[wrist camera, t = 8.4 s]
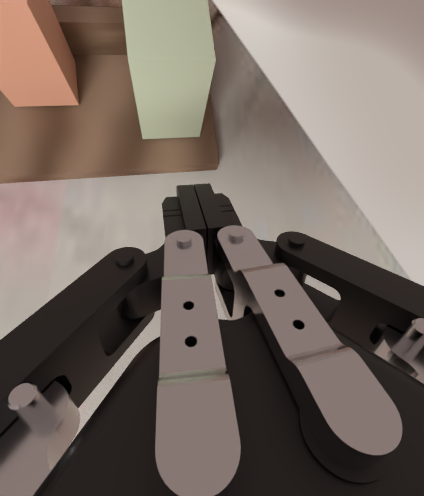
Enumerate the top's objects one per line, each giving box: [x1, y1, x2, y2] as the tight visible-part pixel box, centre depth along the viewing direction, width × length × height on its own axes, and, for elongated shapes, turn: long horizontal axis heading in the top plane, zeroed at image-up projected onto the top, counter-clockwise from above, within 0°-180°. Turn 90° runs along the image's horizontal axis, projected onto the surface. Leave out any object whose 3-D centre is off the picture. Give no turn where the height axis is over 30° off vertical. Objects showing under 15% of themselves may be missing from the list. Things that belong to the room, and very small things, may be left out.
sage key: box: [122, 0, 216, 139], centre depth 21 cm, size 5×4×9 cm
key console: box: [0, 5, 219, 183], centre depth 23 cm, size 28×12×5 cm, turn 97°
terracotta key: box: [0, 0, 79, 107], centre depth 20 cm, size 5×4×9 cm
